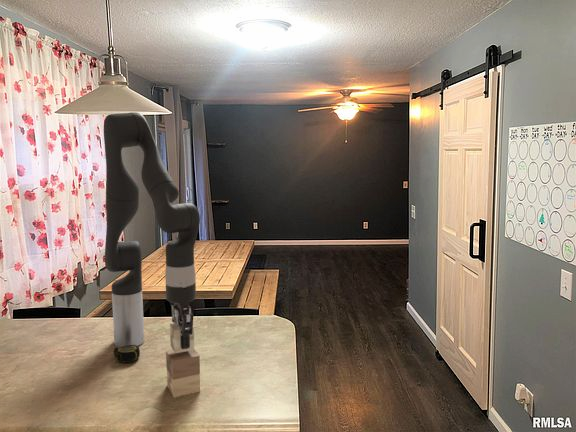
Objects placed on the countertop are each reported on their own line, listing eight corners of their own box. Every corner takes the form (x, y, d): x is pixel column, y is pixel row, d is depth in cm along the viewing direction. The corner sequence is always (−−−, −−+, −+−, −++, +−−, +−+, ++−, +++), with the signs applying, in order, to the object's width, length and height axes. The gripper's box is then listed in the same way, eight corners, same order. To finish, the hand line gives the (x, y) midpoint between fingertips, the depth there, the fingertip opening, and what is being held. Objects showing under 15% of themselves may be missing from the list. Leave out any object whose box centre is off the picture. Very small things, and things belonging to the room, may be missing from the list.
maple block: (170, 345, 131) (169, 324, 130) (189, 342, 133) (188, 321, 132) (175, 353, 127) (174, 330, 126) (194, 349, 129) (193, 327, 128)
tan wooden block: (167, 386, 133) (166, 368, 133) (192, 380, 136) (192, 363, 136) (173, 398, 127) (173, 379, 126) (200, 392, 130) (199, 374, 129)
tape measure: (136, 353, 153) (136, 341, 153) (142, 361, 148) (142, 349, 147) (113, 358, 150) (113, 346, 149) (118, 367, 144) (118, 354, 144)
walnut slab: (166, 368, 133) (165, 350, 132) (192, 363, 136) (191, 345, 135) (173, 379, 126) (172, 361, 126) (199, 373, 130) (199, 355, 129)
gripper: (159, 276, 132) (161, 337, 135) (172, 291, 119) (175, 357, 122) (187, 272, 135) (189, 332, 138) (203, 287, 123) (204, 352, 125)
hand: (182, 344), depth 130 cm, fingers closed on maple block, 5 cm apart
